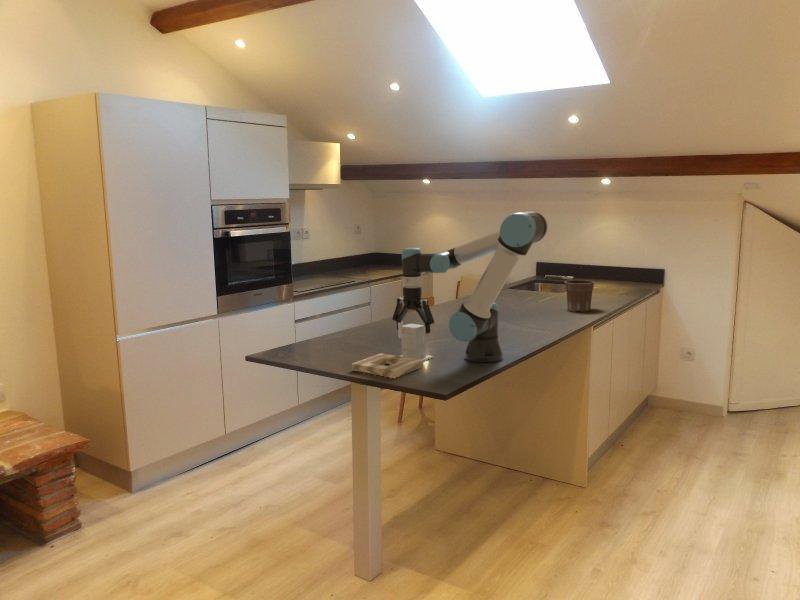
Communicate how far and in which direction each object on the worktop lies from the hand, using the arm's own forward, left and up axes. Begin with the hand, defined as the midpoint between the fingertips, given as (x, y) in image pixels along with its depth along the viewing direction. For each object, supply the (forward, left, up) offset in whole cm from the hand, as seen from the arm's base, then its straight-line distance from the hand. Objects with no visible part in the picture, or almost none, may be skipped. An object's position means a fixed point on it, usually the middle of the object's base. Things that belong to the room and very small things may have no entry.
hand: (413, 339), depth 254 cm
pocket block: (0, +18, -8) cm, 20 cm away
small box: (0, 0, -8) cm, 8 cm away
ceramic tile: (0, 0, -8) cm, 8 cm away
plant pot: (-19, -132, -8) cm, 134 cm away
